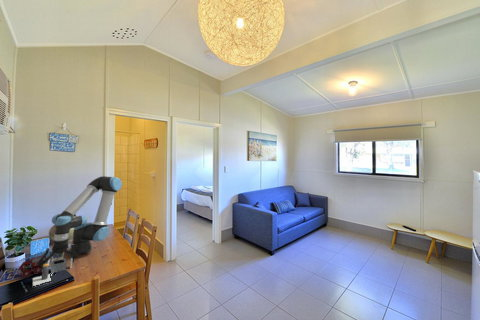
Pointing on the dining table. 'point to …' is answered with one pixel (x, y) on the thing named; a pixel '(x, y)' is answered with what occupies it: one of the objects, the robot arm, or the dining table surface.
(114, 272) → the dining table surface
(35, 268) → the toy fire truck
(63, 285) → the dining table surface
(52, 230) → the pitcher
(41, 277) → the keeper
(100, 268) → the dining table surface
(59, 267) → the link
